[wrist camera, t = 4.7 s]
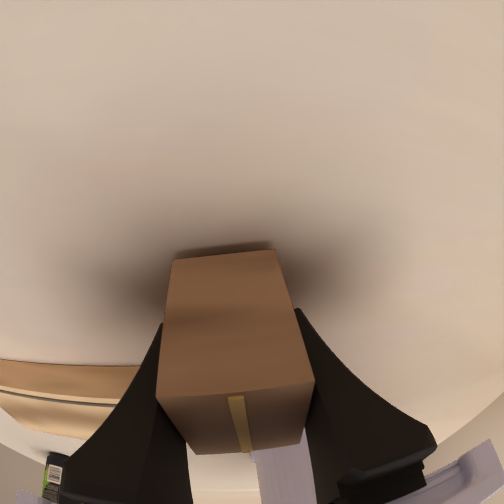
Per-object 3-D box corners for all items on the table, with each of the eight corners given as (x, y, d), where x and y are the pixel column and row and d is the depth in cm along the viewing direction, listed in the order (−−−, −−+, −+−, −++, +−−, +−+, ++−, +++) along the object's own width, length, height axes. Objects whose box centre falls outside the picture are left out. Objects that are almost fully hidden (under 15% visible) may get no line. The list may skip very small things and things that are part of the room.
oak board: (280, 410, 21) (286, 437, 19) (30, 408, 20) (24, 428, 18) (283, 353, 17) (292, 389, 15) (-18, 356, 15) (-28, 380, 13)
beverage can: (46, 454, 29) (38, 533, 17) (49, 448, 27) (40, 537, 15) (81, 468, 32) (77, 546, 20) (89, 463, 30) (85, 550, 17)
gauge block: (274, 356, 16) (296, 459, 11) (201, 363, 16) (205, 468, 10) (274, 248, 12) (316, 384, 7) (172, 259, 12) (155, 400, 7)
